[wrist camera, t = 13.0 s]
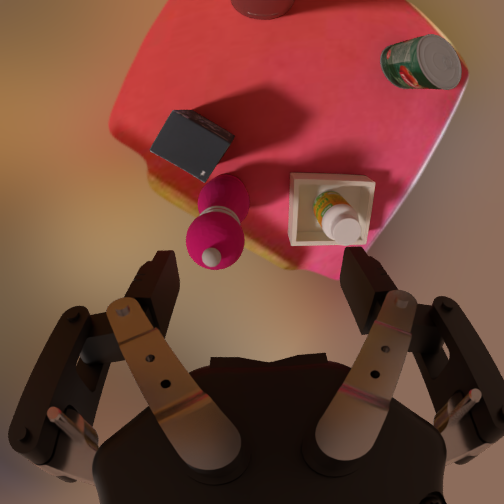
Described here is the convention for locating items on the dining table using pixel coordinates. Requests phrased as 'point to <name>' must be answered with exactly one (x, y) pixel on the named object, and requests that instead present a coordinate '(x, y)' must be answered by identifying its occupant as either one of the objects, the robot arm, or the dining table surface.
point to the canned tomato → (422, 63)
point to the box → (192, 143)
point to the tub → (309, 187)
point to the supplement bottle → (337, 218)
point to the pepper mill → (219, 223)
